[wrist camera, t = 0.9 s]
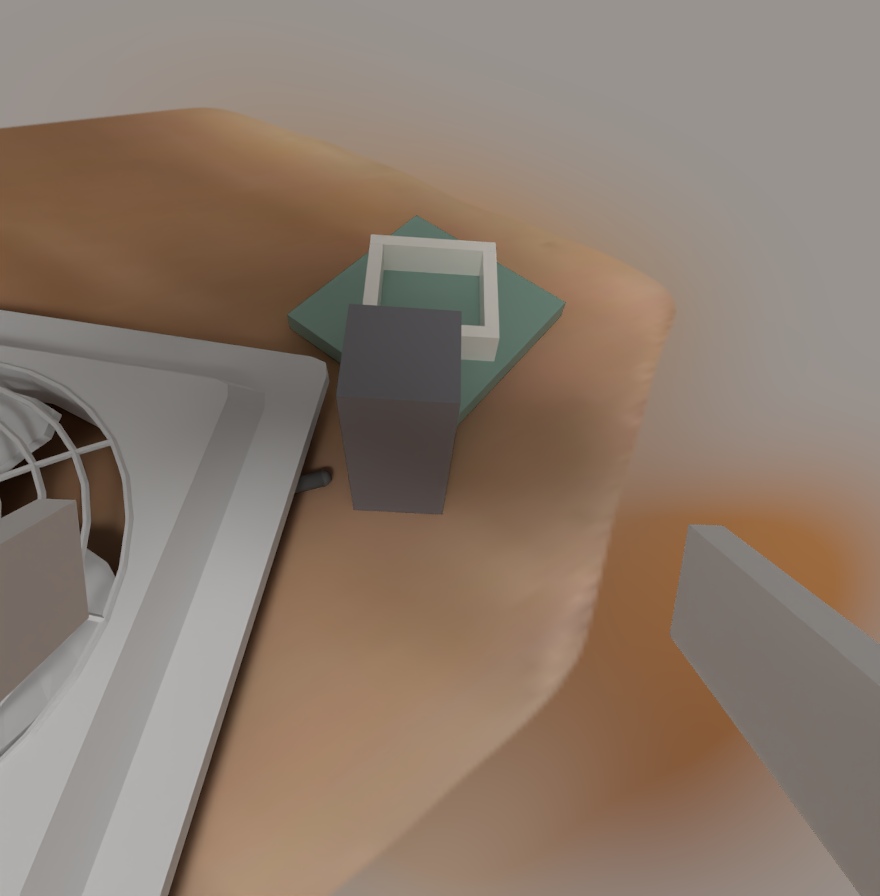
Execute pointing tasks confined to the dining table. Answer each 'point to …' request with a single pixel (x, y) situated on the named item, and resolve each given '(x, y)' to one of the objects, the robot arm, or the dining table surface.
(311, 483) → the fan lead
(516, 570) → the dining table surface
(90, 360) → the ventilation fan
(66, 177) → the dining table surface
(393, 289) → the header board
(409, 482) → the plug
